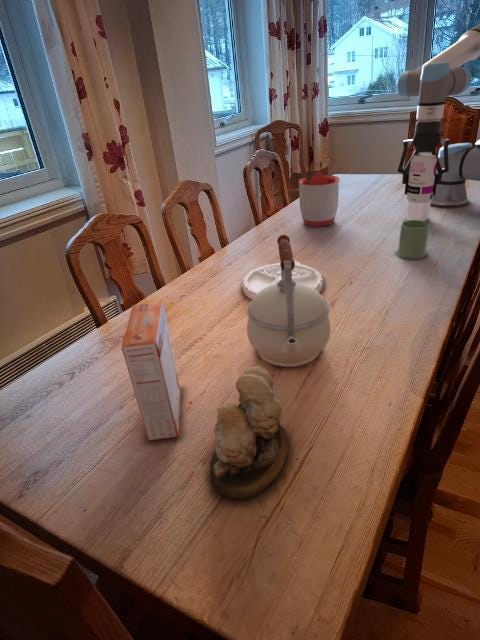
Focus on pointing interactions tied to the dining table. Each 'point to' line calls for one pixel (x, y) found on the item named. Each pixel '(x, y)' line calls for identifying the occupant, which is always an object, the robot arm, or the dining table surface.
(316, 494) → the dining table surface
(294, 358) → the kettle
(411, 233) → the green cup
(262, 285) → the divided serving plate
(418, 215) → the milk
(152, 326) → the cracker box
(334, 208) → the citrus juicer
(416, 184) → the supplement can
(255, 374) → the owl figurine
